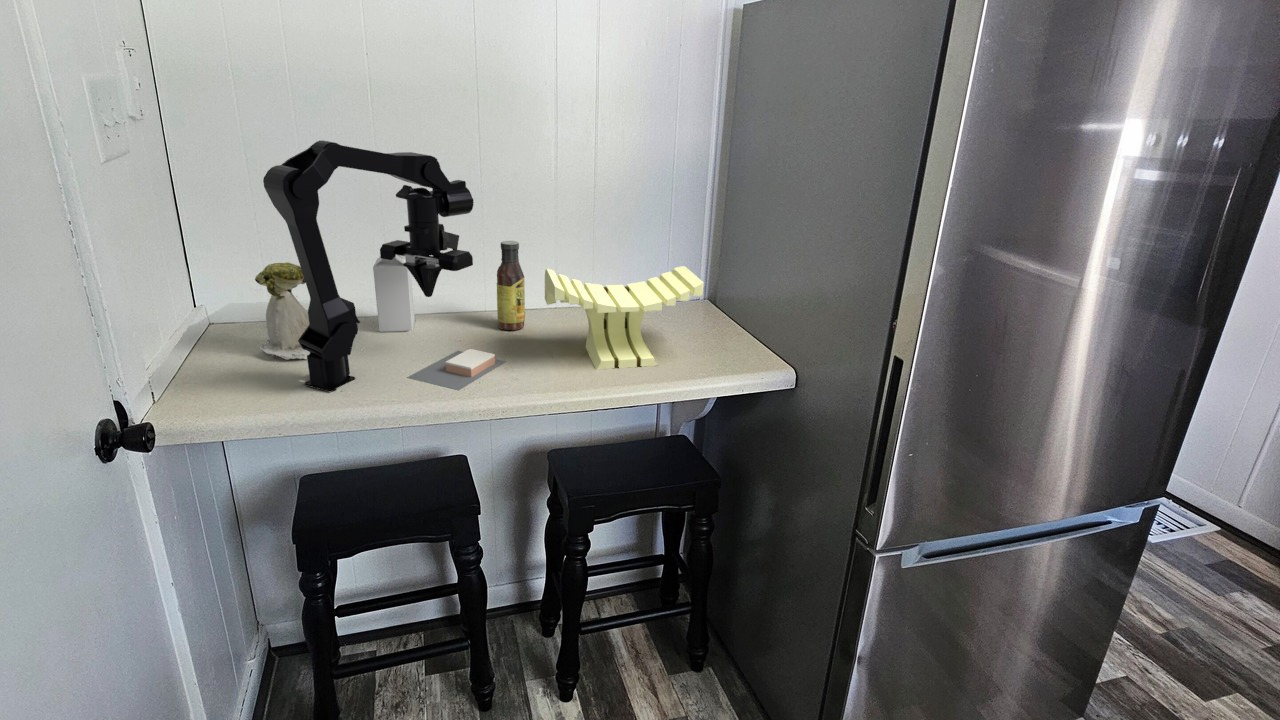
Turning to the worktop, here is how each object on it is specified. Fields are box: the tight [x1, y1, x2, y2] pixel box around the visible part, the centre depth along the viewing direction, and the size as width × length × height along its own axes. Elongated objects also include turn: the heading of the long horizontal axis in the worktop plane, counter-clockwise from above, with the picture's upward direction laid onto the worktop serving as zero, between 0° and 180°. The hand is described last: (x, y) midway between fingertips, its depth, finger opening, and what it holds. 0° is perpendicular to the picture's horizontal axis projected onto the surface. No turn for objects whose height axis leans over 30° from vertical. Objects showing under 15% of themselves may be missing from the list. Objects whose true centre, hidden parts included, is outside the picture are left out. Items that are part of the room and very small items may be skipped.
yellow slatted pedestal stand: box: [544, 265, 705, 370], centre depth 150 cm, size 30×16×18 cm, turn 104°
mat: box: [406, 350, 507, 391], centre depth 141 cm, size 16×12×1 cm
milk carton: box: [372, 255, 416, 333], centre depth 159 cm, size 7×7×19 cm
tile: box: [445, 348, 496, 377], centre depth 141 cm, size 8×2×6 cm
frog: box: [254, 262, 310, 360], centre depth 143 cm, size 12×13×18 cm
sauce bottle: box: [496, 240, 526, 331], centre depth 162 cm, size 7×6×20 cm
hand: (428, 296), depth 145 cm, fingers closed
